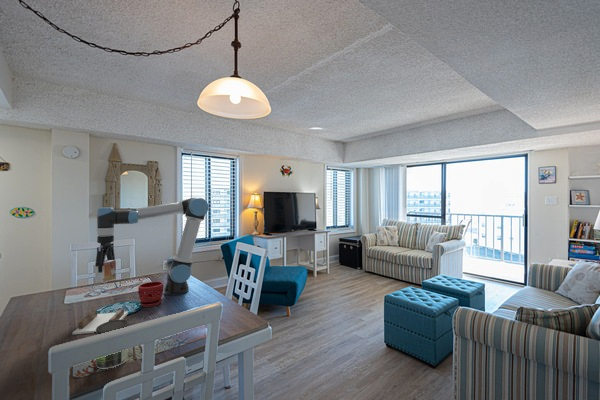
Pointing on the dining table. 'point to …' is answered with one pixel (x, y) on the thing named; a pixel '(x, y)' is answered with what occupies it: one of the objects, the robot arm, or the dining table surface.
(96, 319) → the holder
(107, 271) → the small box
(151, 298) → the plant pot
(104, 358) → the coffee can
